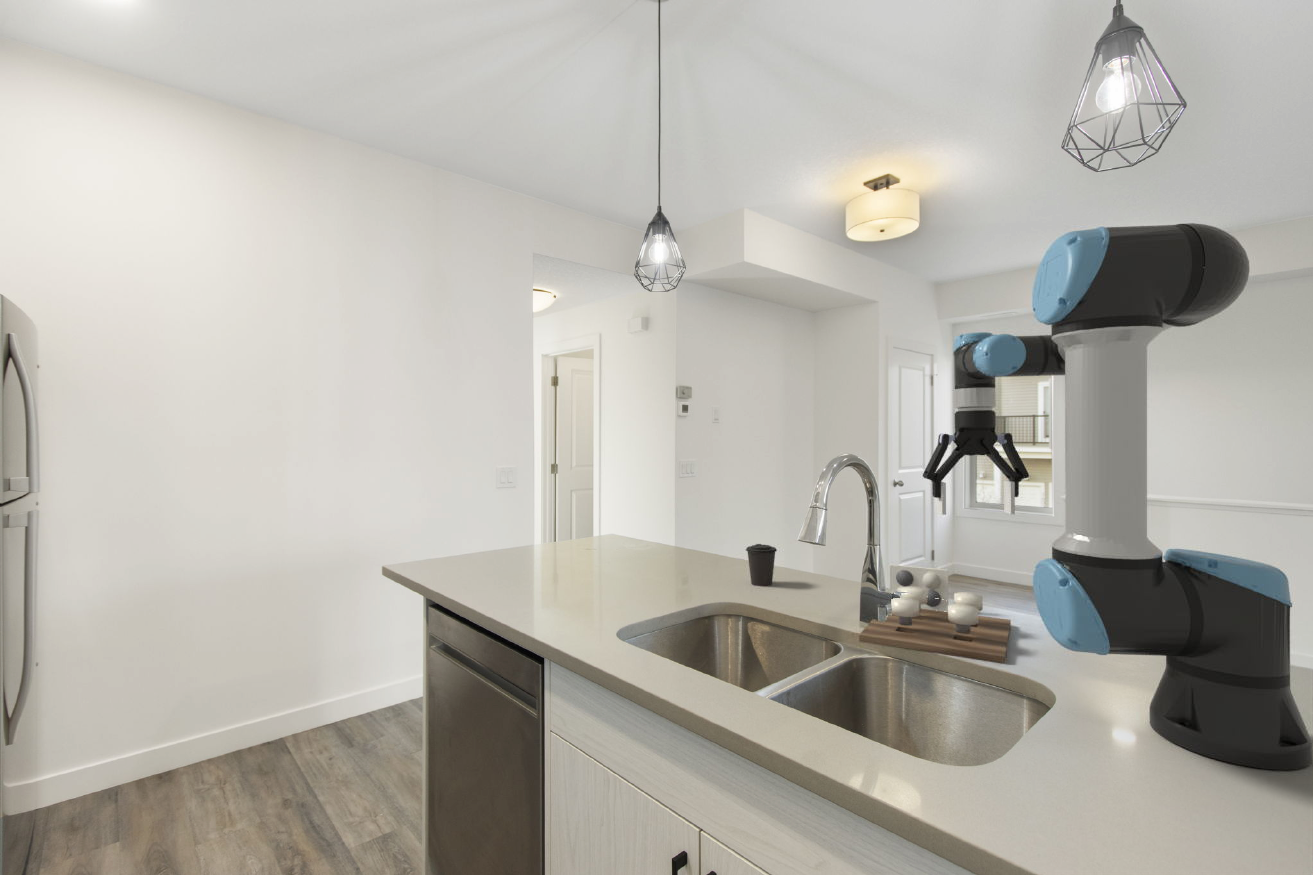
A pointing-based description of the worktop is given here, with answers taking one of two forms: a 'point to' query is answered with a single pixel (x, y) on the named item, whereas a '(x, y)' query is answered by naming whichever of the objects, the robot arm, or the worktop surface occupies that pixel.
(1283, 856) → the worktop surface
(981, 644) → the board
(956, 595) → the button
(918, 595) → the button
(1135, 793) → the worktop surface
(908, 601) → the button
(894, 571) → the card
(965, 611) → the button
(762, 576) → the coffee cup
